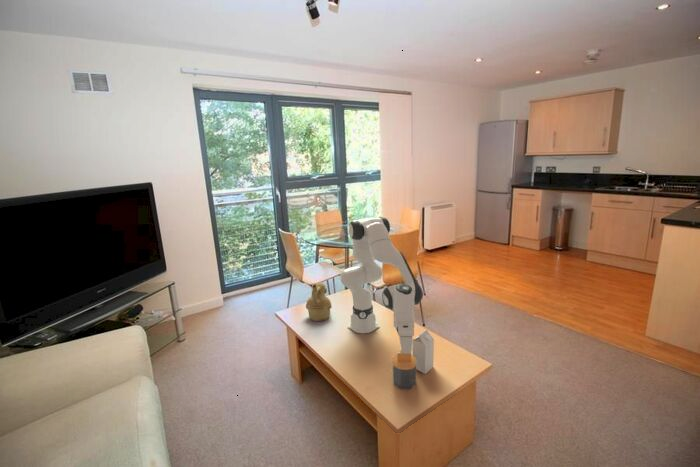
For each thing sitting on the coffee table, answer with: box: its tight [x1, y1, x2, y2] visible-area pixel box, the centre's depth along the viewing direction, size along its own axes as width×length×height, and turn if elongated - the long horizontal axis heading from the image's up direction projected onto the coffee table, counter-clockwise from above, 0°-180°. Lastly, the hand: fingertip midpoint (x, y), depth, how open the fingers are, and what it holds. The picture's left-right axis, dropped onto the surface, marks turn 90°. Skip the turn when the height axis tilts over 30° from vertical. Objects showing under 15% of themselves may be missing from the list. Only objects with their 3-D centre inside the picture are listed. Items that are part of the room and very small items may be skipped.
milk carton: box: [412, 328, 435, 375], centre depth 149 cm, size 7×7×19 cm
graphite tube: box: [392, 365, 417, 390], centre depth 141 cm, size 10×10×10 cm
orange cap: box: [391, 350, 417, 370], centre depth 140 cm, size 11×11×7 cm
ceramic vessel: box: [305, 282, 332, 322], centre depth 203 cm, size 17×20×25 cm
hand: (403, 350), depth 139 cm, fingers closed
